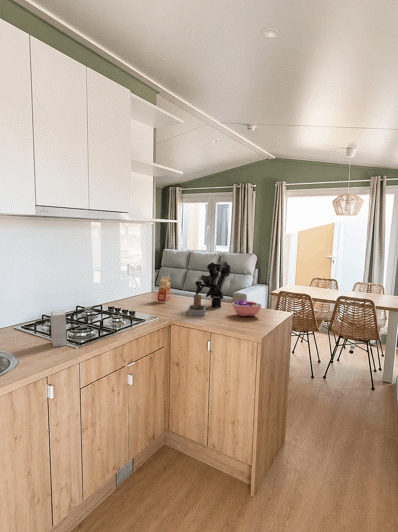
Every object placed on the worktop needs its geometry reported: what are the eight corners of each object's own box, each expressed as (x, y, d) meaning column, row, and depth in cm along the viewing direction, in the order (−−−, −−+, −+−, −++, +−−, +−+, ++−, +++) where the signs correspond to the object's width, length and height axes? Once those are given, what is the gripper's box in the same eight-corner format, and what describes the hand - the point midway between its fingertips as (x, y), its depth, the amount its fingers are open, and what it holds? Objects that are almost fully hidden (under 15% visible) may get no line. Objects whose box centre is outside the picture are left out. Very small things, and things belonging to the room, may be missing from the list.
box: (205, 310, 237) (205, 305, 236) (204, 315, 222) (204, 310, 221) (189, 309, 237) (189, 304, 237) (187, 315, 222) (187, 309, 222)
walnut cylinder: (200, 310, 232) (201, 294, 231) (200, 312, 227) (201, 296, 226) (193, 310, 232) (194, 294, 231) (192, 311, 227) (193, 295, 226)
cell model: (261, 320, 215) (262, 302, 214) (229, 317, 219) (230, 300, 218) (261, 314, 232) (262, 297, 231) (232, 311, 236) (233, 295, 235)
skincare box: (66, 345, 157) (66, 314, 156) (52, 347, 155) (52, 315, 153) (64, 340, 165) (64, 310, 163) (50, 341, 162) (50, 311, 160)
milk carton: (156, 302, 258) (157, 276, 256) (161, 300, 267) (162, 274, 265) (167, 303, 255) (168, 277, 253) (172, 301, 264) (173, 275, 262)
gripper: (197, 269, 240) (185, 286, 233) (217, 272, 227) (206, 290, 220) (204, 279, 246) (193, 296, 239) (224, 282, 234) (213, 300, 227)
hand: (201, 295), depth 231 cm, fingers open, 9 cm apart
